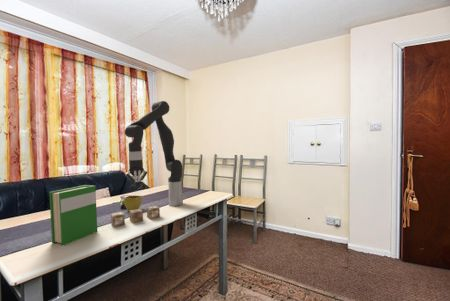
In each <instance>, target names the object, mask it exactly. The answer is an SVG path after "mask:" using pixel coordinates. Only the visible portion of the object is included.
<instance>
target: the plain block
mask: <svg viewBox="0 0 450 301" xmlns="http://www.w3.org/2000/svg"><path fill="white" fill-rule="evenodd" d="M143 213H144V212H143V210H142V208H139V209H135V210H130V211H129V221H130V223H132V224H134V223H139V222H143V221H144V214H143Z"/></svg>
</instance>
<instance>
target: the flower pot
mask: <svg viewBox="0 0 450 301" xmlns="http://www.w3.org/2000/svg"><path fill="white" fill-rule="evenodd" d="M142 198H143V196H142V195H129V196H126V197H125V198H123V201H124V206H125V208H126V210H127V211H129V212H130V210H135V209H140V207H141V206H142V205H141V204H142Z"/></svg>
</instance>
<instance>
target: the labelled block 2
mask: <svg viewBox="0 0 450 301" xmlns="http://www.w3.org/2000/svg"><path fill="white" fill-rule="evenodd" d="M160 211H161V210H160V207H159V206H157V205H152V206H147V207H146V217H147V218H148V220H154V219H159V218H161V212H160Z"/></svg>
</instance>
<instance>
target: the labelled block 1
mask: <svg viewBox="0 0 450 301" xmlns="http://www.w3.org/2000/svg"><path fill="white" fill-rule="evenodd" d="M125 219H126V218H125V213H124V212H123V211H119V212H113V213H110V224H111V226H112V228H115V227H122V226H125V225H126V222H125V221H126V220H125Z"/></svg>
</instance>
